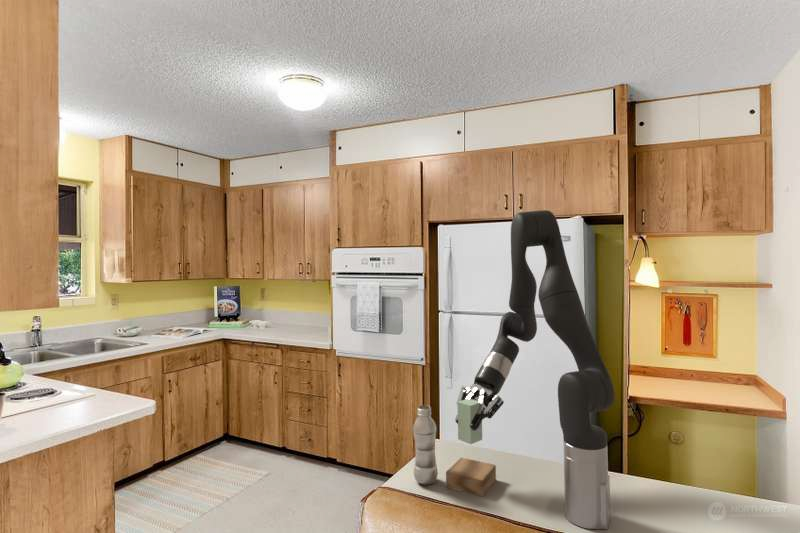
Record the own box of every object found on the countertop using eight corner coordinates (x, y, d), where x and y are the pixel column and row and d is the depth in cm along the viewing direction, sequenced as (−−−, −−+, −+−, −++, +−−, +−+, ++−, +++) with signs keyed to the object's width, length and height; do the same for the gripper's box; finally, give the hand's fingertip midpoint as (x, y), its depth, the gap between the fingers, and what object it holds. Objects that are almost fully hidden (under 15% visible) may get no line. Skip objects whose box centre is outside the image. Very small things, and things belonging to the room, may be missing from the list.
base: (495, 479, 121) (495, 464, 121) (482, 496, 113) (482, 480, 113) (461, 471, 126) (461, 457, 126) (446, 487, 118) (445, 471, 118)
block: (469, 434, 123) (468, 398, 123) (482, 439, 119) (481, 402, 119) (458, 439, 120) (457, 401, 120) (470, 444, 116) (470, 405, 116)
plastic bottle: (438, 476, 124) (436, 403, 124) (437, 488, 117) (436, 411, 117) (414, 475, 124) (413, 403, 125) (413, 487, 118) (411, 411, 118)
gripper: (467, 360, 130) (438, 411, 122) (508, 368, 119) (479, 425, 111) (480, 375, 133) (452, 426, 126) (521, 385, 122) (493, 441, 114)
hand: (465, 425), depth 118 cm, fingers closed on block, 4 cm apart
